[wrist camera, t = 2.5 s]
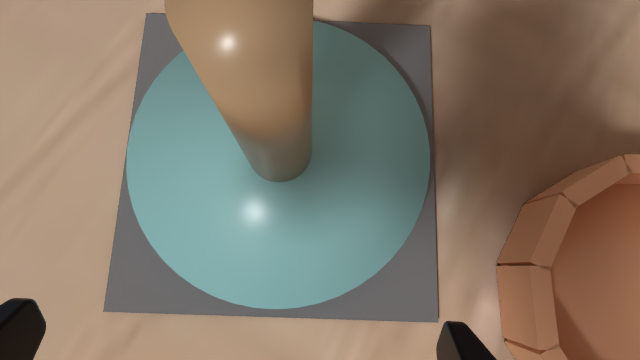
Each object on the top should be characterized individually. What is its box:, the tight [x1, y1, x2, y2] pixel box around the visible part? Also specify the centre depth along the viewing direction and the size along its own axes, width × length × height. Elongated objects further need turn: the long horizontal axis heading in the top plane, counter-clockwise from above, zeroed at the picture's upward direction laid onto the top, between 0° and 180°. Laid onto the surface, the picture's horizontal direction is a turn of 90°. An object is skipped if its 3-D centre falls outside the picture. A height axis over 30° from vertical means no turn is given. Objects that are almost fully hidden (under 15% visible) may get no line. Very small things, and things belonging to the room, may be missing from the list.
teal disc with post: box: [126, 0, 430, 309], centre depth 17 cm, size 17×17×14 cm
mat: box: [103, 13, 438, 322], centre depth 24 cm, size 18×18×1 cm
